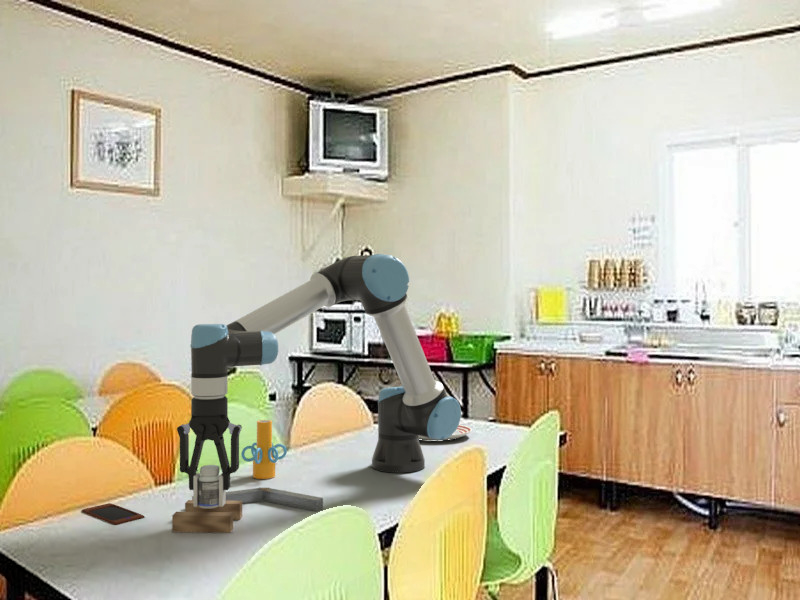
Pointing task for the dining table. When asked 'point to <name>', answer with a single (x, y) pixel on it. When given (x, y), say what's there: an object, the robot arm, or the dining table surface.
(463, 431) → the dinner plate
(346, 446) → the dining table surface
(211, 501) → the pill bottle
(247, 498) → the v block
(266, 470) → the cylinder
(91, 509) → the smartphone
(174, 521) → the wooden blocks
